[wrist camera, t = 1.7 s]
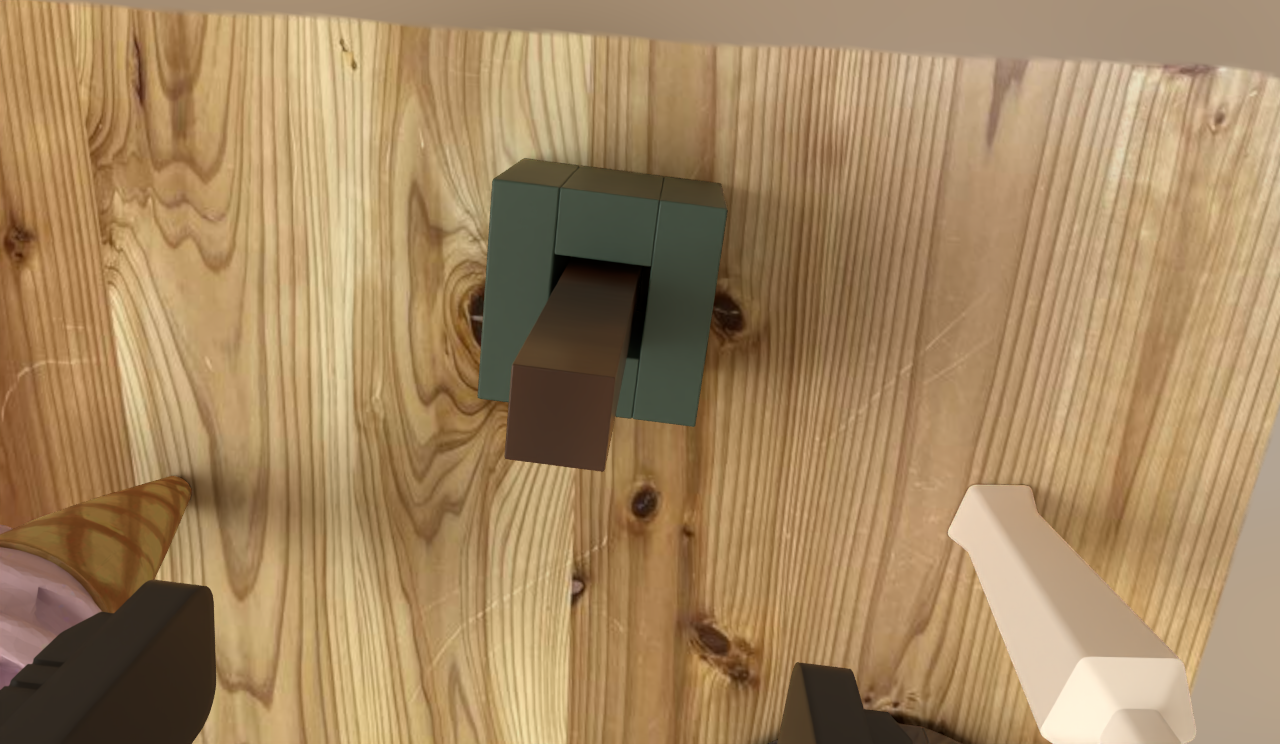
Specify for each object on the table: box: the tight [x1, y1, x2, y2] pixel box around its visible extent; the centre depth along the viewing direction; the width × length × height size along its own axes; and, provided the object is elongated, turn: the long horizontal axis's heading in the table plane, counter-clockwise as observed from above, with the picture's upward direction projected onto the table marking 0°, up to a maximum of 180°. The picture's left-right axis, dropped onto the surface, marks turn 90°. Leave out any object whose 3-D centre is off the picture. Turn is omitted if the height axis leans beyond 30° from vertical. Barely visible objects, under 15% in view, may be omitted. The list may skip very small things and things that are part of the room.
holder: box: [478, 159, 728, 427], centre depth 34 cm, size 8×8×6 cm
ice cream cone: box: [0, 476, 192, 690], centre depth 34 cm, size 7×6×15 cm
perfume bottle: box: [948, 485, 1196, 744], centre depth 33 cm, size 5×4×15 cm
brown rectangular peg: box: [505, 257, 642, 472], centre depth 30 cm, size 2×2×16 cm
